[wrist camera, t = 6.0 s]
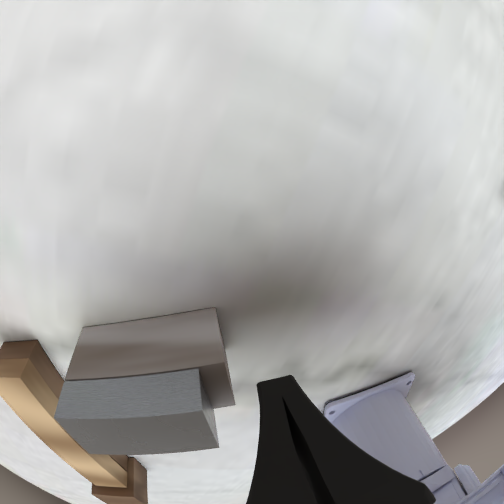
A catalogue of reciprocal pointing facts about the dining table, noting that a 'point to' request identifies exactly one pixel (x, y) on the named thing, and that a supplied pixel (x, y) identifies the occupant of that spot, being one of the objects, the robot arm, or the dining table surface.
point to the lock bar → (139, 414)
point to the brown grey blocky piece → (139, 369)
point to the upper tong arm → (52, 422)
